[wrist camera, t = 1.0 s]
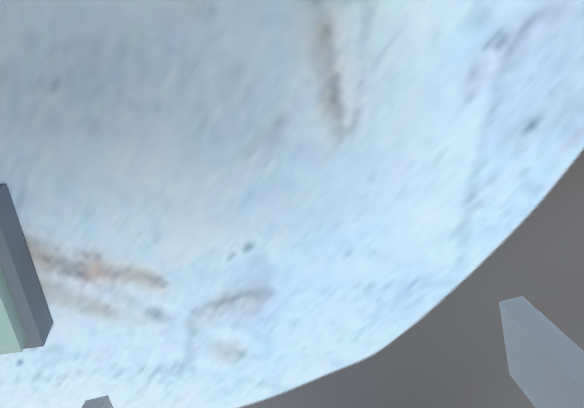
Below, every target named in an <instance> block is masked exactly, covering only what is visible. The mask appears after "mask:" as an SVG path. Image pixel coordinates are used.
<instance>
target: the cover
mask: <svg viewBox="0 0 584 408" xmlns="http://www.w3.org/2000/svg"><path fill="white" fill-rule="evenodd" d="M27 340H28V338H27V335H26V333H25V330H24V327H23V325H22V322H21V320H20V317H19V314H18V312H17V309H16V306H15V304H14V301H13V298H12V296H11V293H10V290H9V288H8V285H7V282H6V280H5V277H4V274H3V272H2V269H1V266H0V355H1V354H8V353H16V352H22V350H23V348H24V346H25V344H26V342H27Z"/></svg>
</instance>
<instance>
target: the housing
mask: <svg viewBox="0 0 584 408" xmlns="http://www.w3.org/2000/svg"><path fill="white" fill-rule="evenodd" d="M0 266H1V269H2V272H3V274H4V277H5V280H6V282H7V285H8V288H9V290H10V293H11V296H12V298H13V301H14V304H15V306H16V309H17V312H18V314H19V317H20V320H21V322H22V325H23V327H24V330H25V333H26V335H27V338H28V340H27V342H26V344H25V346H24V348H23V349H26V348H34V347H42V346H44V344H45V341H46V339H47V337H48V334H49V332H50V329H51V327H52V325H53V321H52V318H51V315H50V312H49V309H48V306H47V303H46V300H45V297H44V294H43V291H42V288H41V285H40V282H39V279H38V276H37V273H36V270H35V268H34V265H33V262H32V259H31V256H30V253H29V250H28V247H27V244H26V241H25V238H24V235H23V232H22V229H21V226H20V223H19V220H18V217H17V214H16V211H15V208H14V205H13V202H12V200H11V197H10V194H9V191H8V188H7V185H6V184H0Z"/></svg>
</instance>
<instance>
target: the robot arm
mask: <svg viewBox="0 0 584 408" xmlns="http://www.w3.org/2000/svg"><path fill="white" fill-rule="evenodd" d="M499 305H500V312H501V319H502V326H503V333H504V339H505V347H506V353H507V361H508V367H509V374H510V375H511V377H512V378H513V379H514V380H515V382H516V383H517V384H518V386H519V387H520V388H521V389H522V391H523V392H524V393H525V395H526V396H527V397H528V398H529V400H530V401H531V402H532V403H533V405H534V406H535V407H536V408H584V351H583V350H582V349H580V348H579V347H578V346H577V345H576V344H575V343H574V342H573V341H572V340H570V339H569V338H568V337H567V336H566V335H565V334H564V333H563V332H562V331H560V330H559V329H558V328H557V327H556V326H555V325H554V324H553V323H551V322H550V321H549V320H548V319H547V318H546V317H545V316H544V315H542V313H540V312H539V311H538V310H537V309H536V308H535V307H534V306H533V305H532V304H530V303H529V302H528V301H527V300H526V299H525V298H524V297H523V296H521V297H517V298H513V299H509V300H505V301H501V302H499ZM82 408H113V406H112V404H111V402H110V399H109V397H108V395H107V396H103V397H99V398H95V399H91V400H87V401H85V403H84V405H83V406H82Z"/></svg>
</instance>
